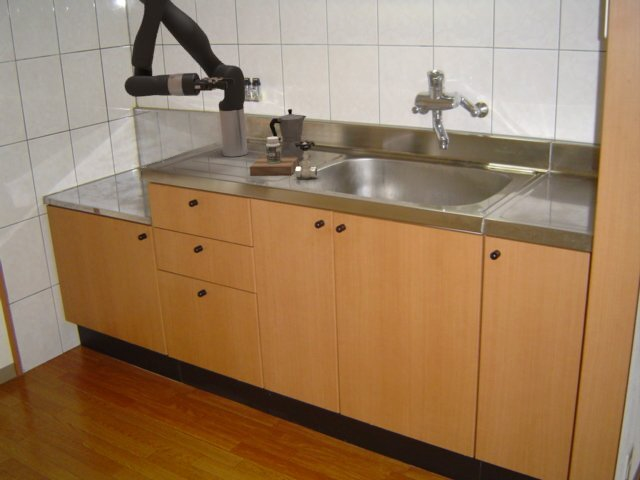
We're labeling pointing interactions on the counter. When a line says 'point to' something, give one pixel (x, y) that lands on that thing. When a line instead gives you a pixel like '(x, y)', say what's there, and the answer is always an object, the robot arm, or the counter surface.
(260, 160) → the stand
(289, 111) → the coffeepot
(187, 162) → the counter surface
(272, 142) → the pill bottle
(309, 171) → the valve
